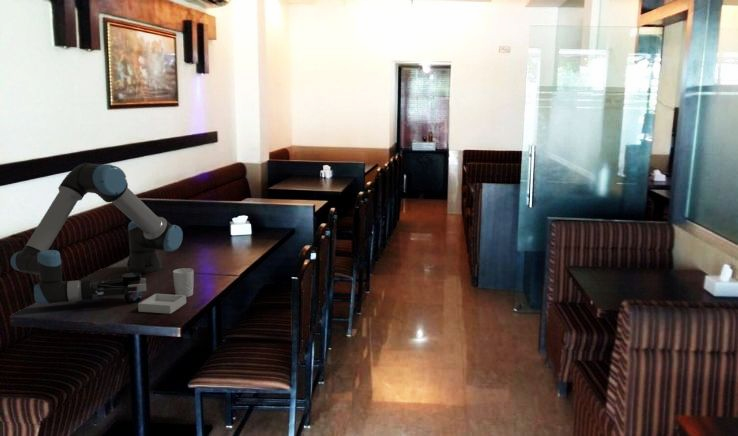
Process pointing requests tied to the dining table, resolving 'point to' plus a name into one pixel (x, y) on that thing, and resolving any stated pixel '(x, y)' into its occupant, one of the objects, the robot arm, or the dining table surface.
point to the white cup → (183, 281)
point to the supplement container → (132, 280)
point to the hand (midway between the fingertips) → (146, 284)
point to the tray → (162, 303)
